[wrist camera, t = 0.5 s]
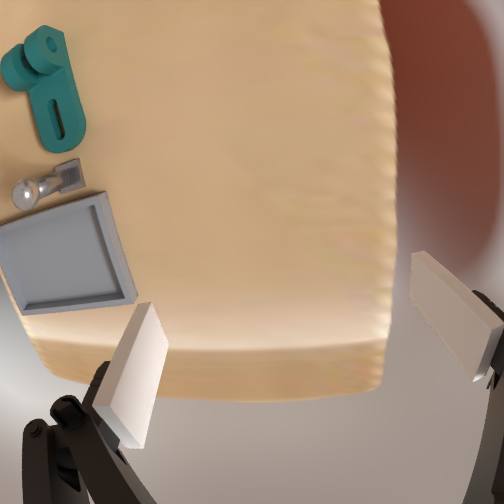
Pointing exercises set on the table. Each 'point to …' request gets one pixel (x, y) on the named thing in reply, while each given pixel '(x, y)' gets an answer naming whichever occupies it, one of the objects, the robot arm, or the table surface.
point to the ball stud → (48, 185)
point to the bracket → (47, 87)
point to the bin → (66, 259)
